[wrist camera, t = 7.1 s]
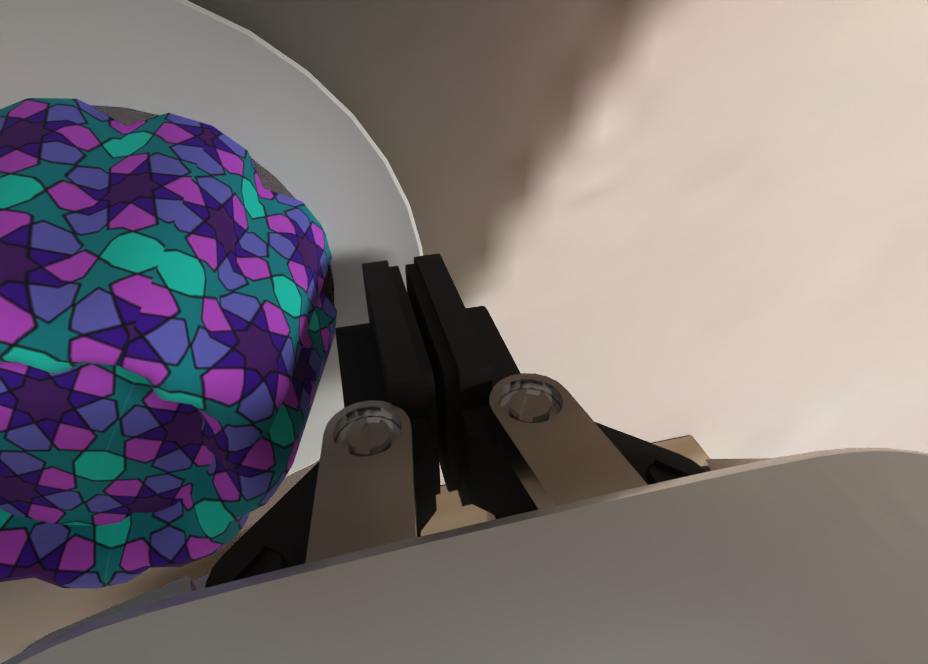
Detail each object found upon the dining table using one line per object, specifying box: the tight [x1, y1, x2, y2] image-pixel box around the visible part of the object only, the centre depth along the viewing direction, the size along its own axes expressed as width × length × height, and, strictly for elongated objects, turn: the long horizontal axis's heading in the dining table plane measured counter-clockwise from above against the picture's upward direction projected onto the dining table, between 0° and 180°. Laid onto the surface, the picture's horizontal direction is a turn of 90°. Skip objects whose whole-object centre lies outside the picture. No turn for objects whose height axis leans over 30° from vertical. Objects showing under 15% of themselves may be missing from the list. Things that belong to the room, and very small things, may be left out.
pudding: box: [0, 0, 423, 588], centre depth 10 cm, size 12×12×5 cm
